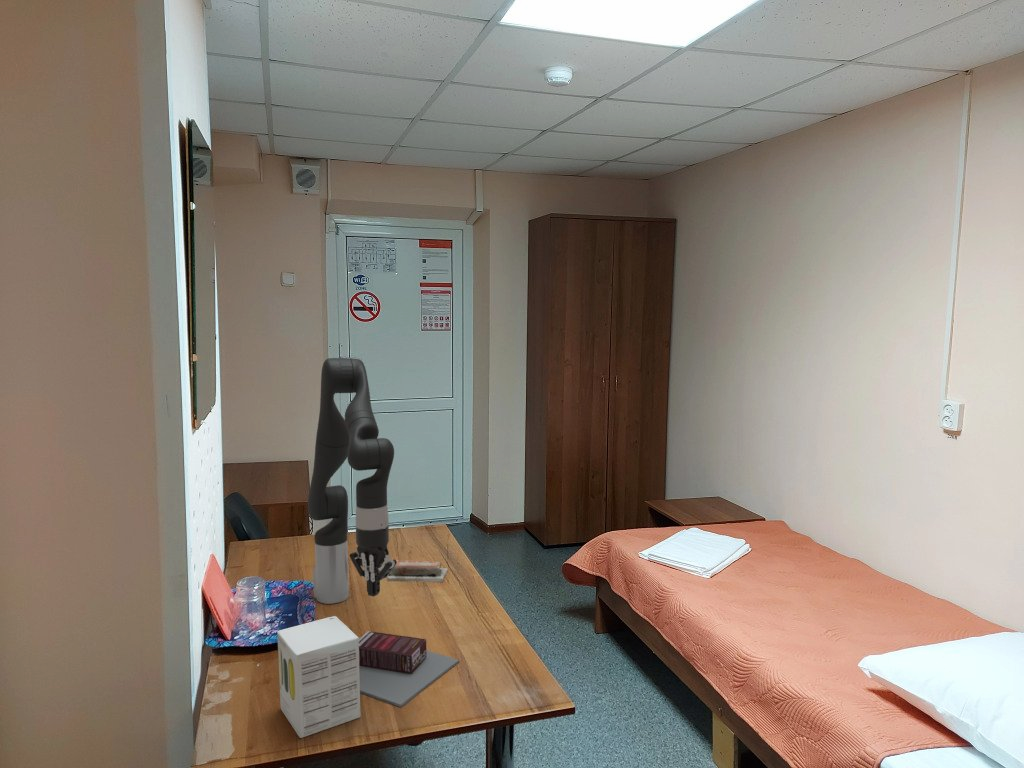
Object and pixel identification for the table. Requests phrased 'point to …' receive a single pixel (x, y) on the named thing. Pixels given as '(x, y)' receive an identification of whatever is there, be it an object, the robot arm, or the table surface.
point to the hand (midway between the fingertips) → (373, 594)
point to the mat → (403, 679)
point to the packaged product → (417, 571)
